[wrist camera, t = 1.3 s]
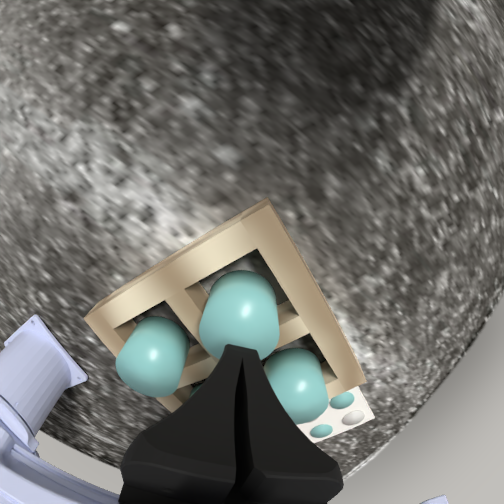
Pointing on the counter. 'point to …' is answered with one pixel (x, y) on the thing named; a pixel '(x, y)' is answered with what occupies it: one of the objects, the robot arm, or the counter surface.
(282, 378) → the button
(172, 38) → the counter surface
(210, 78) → the counter surface
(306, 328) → the wooden compartment tray
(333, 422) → the tile
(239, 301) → the button
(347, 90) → the counter surface
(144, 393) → the button
